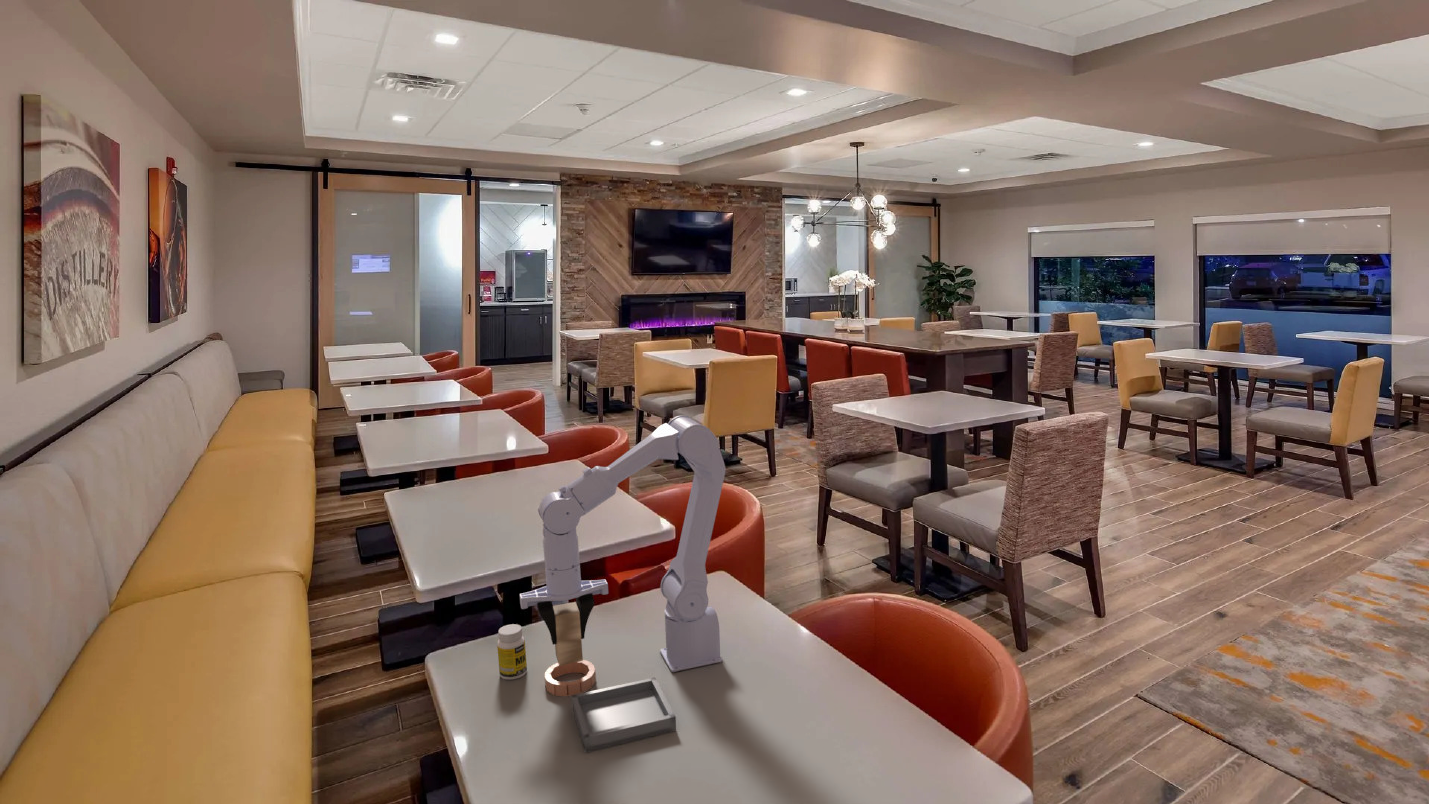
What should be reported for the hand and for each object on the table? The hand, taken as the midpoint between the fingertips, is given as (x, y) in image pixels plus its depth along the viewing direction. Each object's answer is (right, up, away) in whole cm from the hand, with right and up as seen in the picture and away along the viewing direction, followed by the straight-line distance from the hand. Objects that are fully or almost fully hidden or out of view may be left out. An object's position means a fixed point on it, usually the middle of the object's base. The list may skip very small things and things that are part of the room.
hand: (567, 639), depth 128 cm
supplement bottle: (-11, -8, +5) cm, 14 cm away
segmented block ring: (0, -8, +1) cm, 8 cm away
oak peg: (0, -3, +1) cm, 3 cm away
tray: (+11, -10, -10) cm, 17 cm away
